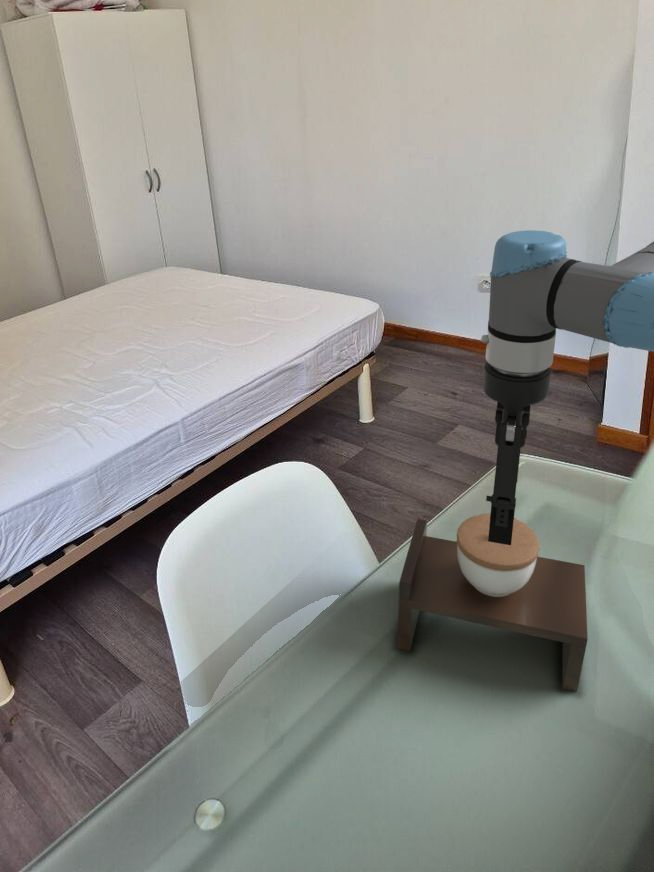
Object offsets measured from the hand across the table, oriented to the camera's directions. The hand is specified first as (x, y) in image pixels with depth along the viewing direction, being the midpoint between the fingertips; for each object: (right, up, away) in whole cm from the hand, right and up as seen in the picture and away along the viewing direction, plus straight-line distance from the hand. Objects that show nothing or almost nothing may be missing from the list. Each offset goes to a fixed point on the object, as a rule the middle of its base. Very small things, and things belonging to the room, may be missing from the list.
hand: (503, 509), depth 91 cm
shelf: (+1, -20, +10) cm, 23 cm away
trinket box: (0, -11, +6) cm, 13 cm away
